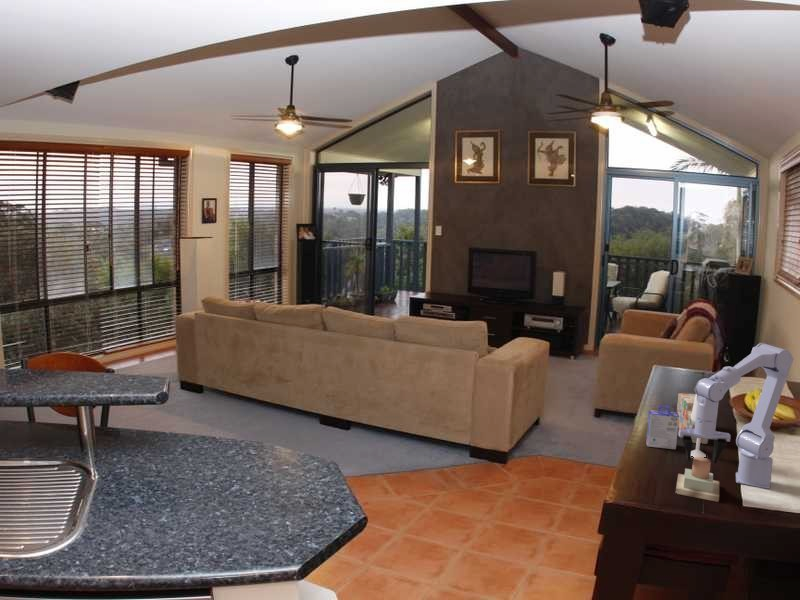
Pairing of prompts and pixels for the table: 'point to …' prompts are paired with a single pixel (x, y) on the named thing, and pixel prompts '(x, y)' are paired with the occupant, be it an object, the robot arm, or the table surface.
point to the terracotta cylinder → (701, 467)
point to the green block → (698, 482)
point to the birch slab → (697, 493)
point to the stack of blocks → (687, 413)
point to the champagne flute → (697, 452)
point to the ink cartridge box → (662, 428)
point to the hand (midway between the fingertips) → (701, 460)
